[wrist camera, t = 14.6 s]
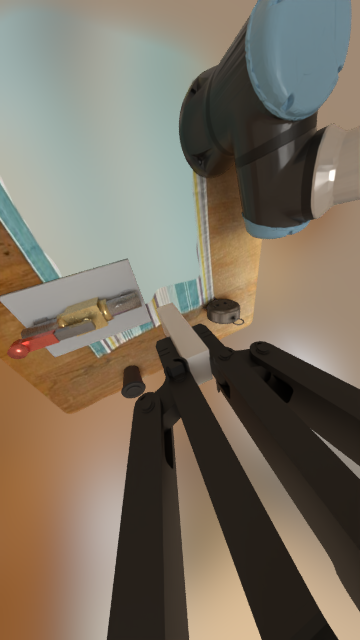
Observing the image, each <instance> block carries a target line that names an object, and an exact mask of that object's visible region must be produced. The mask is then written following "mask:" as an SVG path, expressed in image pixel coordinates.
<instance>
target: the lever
mask: <svg viewBox="0 0 360 640" xmlns="http://www.w3.org/2000/svg"><path fill="white" fill-rule="evenodd" d="M93 330H96V325H95V323H94V322H93V320H92V319H88V318H84V319H83V320H82V322H80V323H77V324H74V325H71V326H67V327H64V328H61V329H57V330H51V331H48V332H45V333H41V334H38V335H35V336H32V337H28V338H25V339H19V340H17V341H15V342H14V343H13V344H12V345H11V346H10V347H11V348H10V349H9V350H8V352H7V354H8V355H9V356H10V357H11V358H14V359H22V358H24V357H26V356H27V354H28V352H31V351H34V350H37V349H40V348H44V347H47V346H50V345H53V344H56V343H59V342H60V341H61V340H65V339H68V338H71V337H74V336H77V335H80V334H83V333H87V332H90V331H93Z"/></svg>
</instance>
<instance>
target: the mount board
mask: <svg viewBox="0 0 360 640" xmlns="http://www.w3.org/2000/svg"><path fill="white" fill-rule="evenodd" d="M128 289H130V291H131V293H133V292H137V294H138V297H139V299H140V302H141V304H142V307H139V308H137V309H134V310H131V311H128V312H125V313H123V314H120V315H117V316H114V317H115V319H113V320H111V321H109V324H108V326H106V327H103V328H100V329H97V330H95V331H92V332H89V333H86V334H84V335H81V336H78V337H77V336H74V337H71V338H68V339H65V340H61V341H60V342H59V343H56V344H53V345H50V346H47V347H46V348H47V349H48V350H49V352H50V353H51V354H52V355H53V356H54V357H57V356H60V355H63V354H65V353H68V352H70V351H73V350H76V349H78V348H81V347H84V346H86V345H89V344H92V343H94V342H97V341H100V340H102V339H105V338H108V337H110V336H113V335H116V334H118V333H121V332H124V331H126V330H129V329H131V328H134V327H137V326H139V325H142V324H145V323H147V322H150V321H151V319H150V316H149V313H148V311H147V308H146V305H145V303H144V300H143V297H142V295H141V292H140V290H139V287H138V284H137V282H136V279H135V276H134V274H133V271H132V269H131V266H130V263H129V261H128V259H124V260H120V261H117V262H114V263H111V264H107V265H103V266H100V267H96V268H93V269H90V270H86V271H83V272H79V273H76V274H72V275H69V276H66V277H62V278H59V279H55V280H52V281H49V282H45V283H42V284H38V285H35V286H31V287H28V288H25V289H21V290H18V291H14V292H11V293H8V294H4V295H1V296H0V301H1V302H2V303H3V304H4V305H5V306H6V307H7V308H8V309H9V310H10V311H11V312H12V313H13V314H14V315H15V317H16V318H17V319H18V320H19V321H20V322H21V323H22V324H23V325H24V326H25V327H26V328H28V327H31V326H34V324H33V323H32V322H33V321H34V320H37V319H40V318H43V317H47V318H48V319H49V320H52V319H55V318H57V315H58V314H61V313H64V311H65V310H66V308H67V307H68V306H71V305H74V304H77V303H80V302H83V301H86V300H89V299H92V298H95V297H99V299H100V300H103V299H106V300H107V301H109V300H112V299H115V298H118V297H121V296H120V294H119V292H122V291H125V290H128Z"/></svg>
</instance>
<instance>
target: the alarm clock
mask: <svg viewBox="0 0 360 640" xmlns="http://www.w3.org/2000/svg"><path fill="white" fill-rule="evenodd" d="M214 299H215V301H212V302H210V303H209V304H208V306H207V308H205V307H203V309H207V317H208V319H209V320H210V321H212V322H215V323H219V324H229V323H233V324H235V323H234V322H235V321H237V320H238V319H240V305H239V304H238V303H237V302H235V301H233V300H229V299H219V300H217V299H216V298H215V297H214ZM240 320H242V319H240ZM242 321H243V323H244V320H242ZM243 323H242V324H243ZM242 324H235V325H242Z"/></svg>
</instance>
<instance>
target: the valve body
mask: <svg viewBox="0 0 360 640" xmlns="http://www.w3.org/2000/svg"><path fill="white" fill-rule="evenodd" d="M119 294H120V296H121V297H118V298H115V299H112V300H109V301H107V300H106V299H103V300H100V299H99V297H95V298H92V299H89V300H86V301H83V302H80V303H77V304H74V305H71V306H68V307H67V308H66V310H65V311H64V313H61V314H58V315H57V318H55V319H52V320H49V319H48V318H47V317H43V318H40V319H37V320H34V321H33V322H32V323H33V324H34V326H31V327H28V328H25V329H23V330H22V332H21V336H22V338H23V339H25V338H28V337H32V336H35V335H38V334H41V333H45V332H48V331H51V330H57V329H61V328H64V327H67V326H71V325H74V324H77V323H80V322H82V320H83V319H84V318H88V319H92V320H93V322H94V323H95V325H96V330H97V329H100V328H103V327H106V326H108V324H109V321H111V320H113V319H115V317H114V316H117V315H120V314H123V313H125V312H128V311H131V310H134V309H137V308H139V307H142V304H141V302H140V299H139V297H138V294H137V292H133V293H131V291H130V289H128V290H125V291H122V292H119ZM93 331H95V330H93ZM90 332H92V331H90ZM87 333H89V332H87ZM84 334H86V333H83V334H80V335H77V337H78V336H81V335H84Z"/></svg>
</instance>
